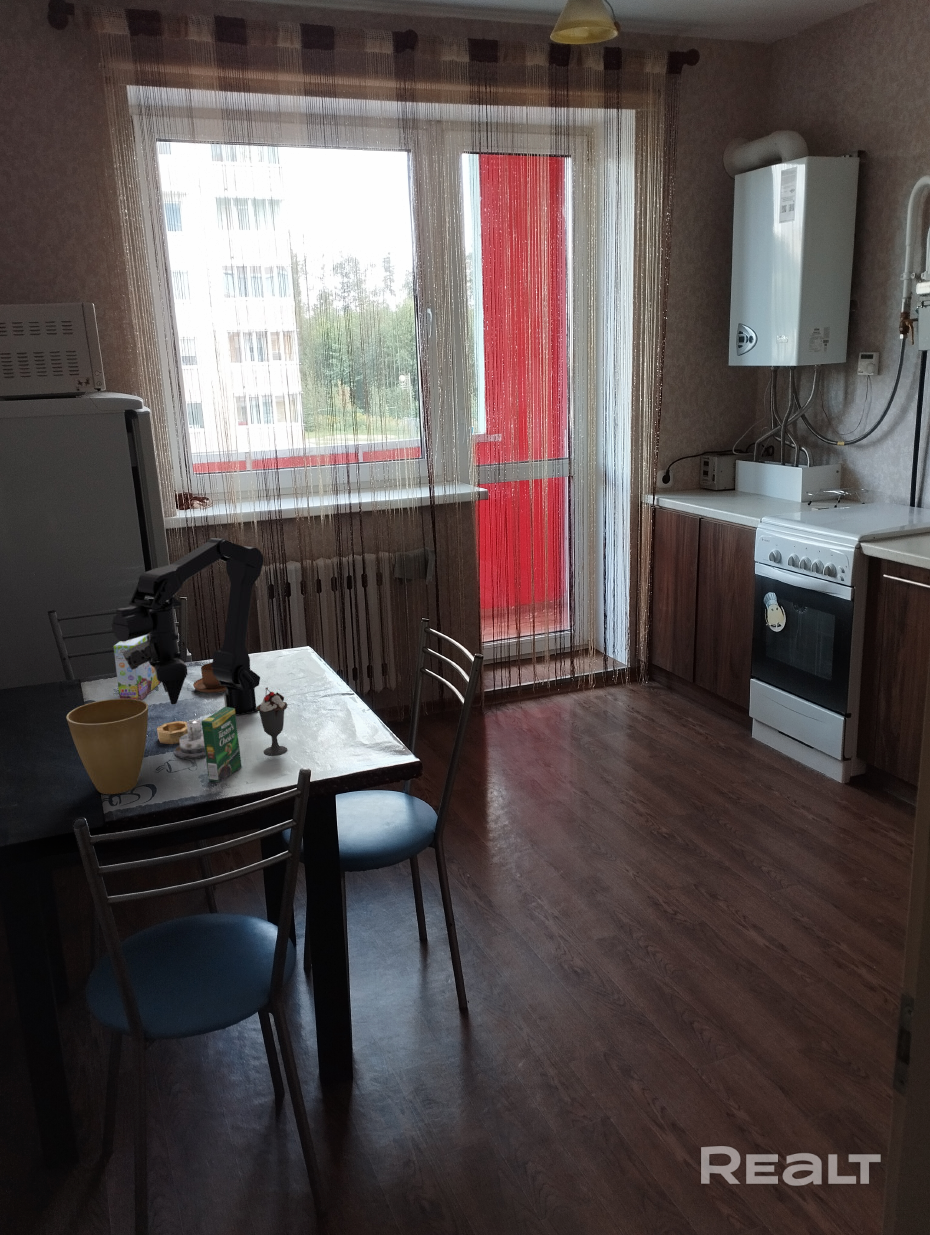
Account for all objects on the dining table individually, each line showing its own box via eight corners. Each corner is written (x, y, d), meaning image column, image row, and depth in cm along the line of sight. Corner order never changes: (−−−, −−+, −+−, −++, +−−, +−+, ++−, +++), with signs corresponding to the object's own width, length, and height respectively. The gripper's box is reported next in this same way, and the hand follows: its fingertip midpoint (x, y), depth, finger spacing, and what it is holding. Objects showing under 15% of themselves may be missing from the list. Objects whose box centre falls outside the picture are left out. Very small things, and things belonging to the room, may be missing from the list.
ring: (188, 729, 218) (187, 719, 218) (194, 739, 212) (192, 729, 211) (157, 735, 215) (155, 725, 215) (161, 746, 209) (159, 735, 209)
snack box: (141, 703, 237) (133, 645, 233) (119, 704, 237) (111, 645, 233) (168, 676, 258) (161, 622, 254) (147, 676, 258) (140, 622, 254)
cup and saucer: (205, 681, 253) (202, 658, 251) (248, 681, 251) (246, 658, 249) (186, 696, 241) (183, 673, 240) (231, 697, 240) (229, 673, 238)
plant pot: (147, 800, 183) (137, 721, 179) (68, 805, 182) (55, 726, 178) (165, 768, 197) (155, 695, 193) (91, 773, 196) (80, 699, 192)
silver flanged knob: (214, 739, 212) (210, 711, 210) (221, 753, 204) (218, 724, 202) (172, 747, 208) (168, 719, 207) (178, 761, 200) (174, 732, 199)
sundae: (265, 759, 200) (258, 691, 196) (256, 749, 206) (249, 682, 202) (295, 753, 203) (289, 685, 199) (286, 742, 208) (279, 677, 205)
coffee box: (219, 783, 189) (212, 721, 186) (207, 782, 190) (199, 719, 187) (242, 767, 196) (236, 707, 193) (231, 766, 197) (224, 706, 194)
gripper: (118, 625, 212) (128, 691, 216) (127, 646, 196) (137, 717, 200) (170, 618, 217) (178, 683, 221) (183, 637, 200) (192, 708, 204)
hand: (170, 697), depth 211 cm, fingers open, 9 cm apart
